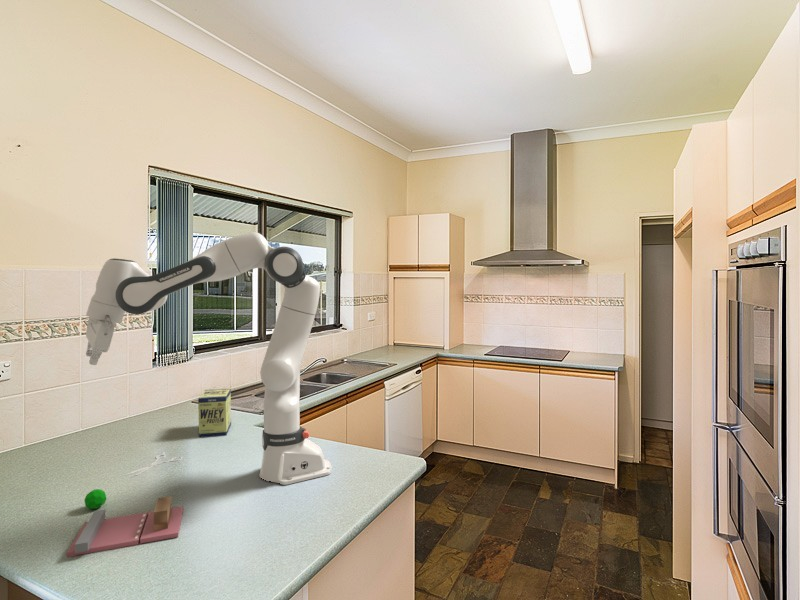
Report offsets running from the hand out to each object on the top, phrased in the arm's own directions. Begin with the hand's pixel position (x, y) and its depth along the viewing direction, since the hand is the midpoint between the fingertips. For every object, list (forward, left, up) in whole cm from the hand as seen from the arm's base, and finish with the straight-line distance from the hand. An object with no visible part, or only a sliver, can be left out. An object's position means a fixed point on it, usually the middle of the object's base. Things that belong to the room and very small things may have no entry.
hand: (90, 360), depth 131 cm
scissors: (-12, -19, -40) cm, 46 cm away
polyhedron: (-2, +8, -39) cm, 40 cm away
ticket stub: (-20, +25, -39) cm, 51 cm away
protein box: (-31, -50, -39) cm, 71 cm away
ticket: (-9, +25, -39) cm, 47 cm away
